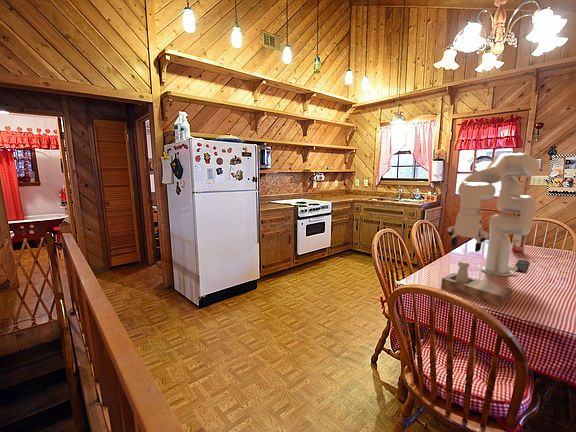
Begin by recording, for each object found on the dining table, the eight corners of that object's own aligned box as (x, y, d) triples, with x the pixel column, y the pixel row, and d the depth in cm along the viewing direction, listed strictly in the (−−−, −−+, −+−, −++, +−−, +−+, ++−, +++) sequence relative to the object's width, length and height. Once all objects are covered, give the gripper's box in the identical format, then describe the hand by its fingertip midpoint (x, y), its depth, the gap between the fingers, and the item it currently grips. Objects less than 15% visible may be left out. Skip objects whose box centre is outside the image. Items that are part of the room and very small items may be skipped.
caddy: (511, 299, 125) (512, 289, 124) (501, 306, 118) (502, 296, 117) (452, 281, 144) (453, 272, 143) (441, 287, 137) (442, 278, 136)
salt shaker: (451, 286, 138) (453, 259, 136) (462, 285, 139) (465, 259, 136) (459, 291, 132) (462, 264, 130) (471, 290, 133) (474, 263, 131)
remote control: (529, 263, 172) (529, 261, 172) (525, 274, 155) (525, 271, 155) (518, 261, 176) (518, 259, 176) (512, 271, 159) (513, 269, 159)
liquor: (527, 253, 191) (533, 211, 186) (516, 253, 191) (522, 211, 186) (518, 250, 198) (524, 209, 193) (507, 250, 198) (513, 209, 193)
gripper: (495, 213, 125) (490, 251, 128) (453, 208, 138) (449, 243, 141) (488, 215, 120) (483, 254, 123) (445, 210, 134) (442, 245, 137)
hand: (465, 248), depth 132 cm, fingers open, 9 cm apart
